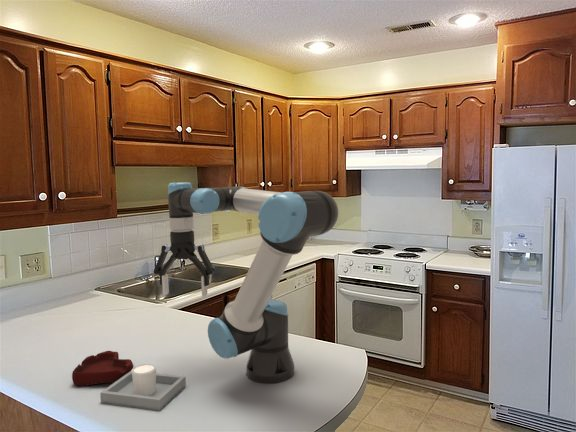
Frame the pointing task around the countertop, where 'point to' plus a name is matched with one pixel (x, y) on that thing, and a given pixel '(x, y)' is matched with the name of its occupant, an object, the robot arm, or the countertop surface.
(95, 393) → the countertop surface
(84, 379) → the ashtray
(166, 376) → the tray
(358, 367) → the countertop surface
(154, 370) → the white cup
